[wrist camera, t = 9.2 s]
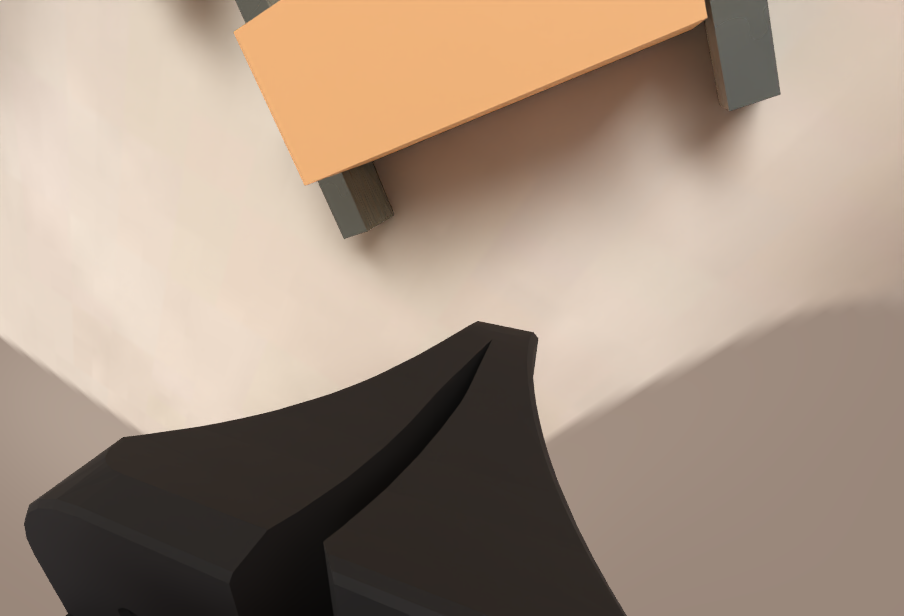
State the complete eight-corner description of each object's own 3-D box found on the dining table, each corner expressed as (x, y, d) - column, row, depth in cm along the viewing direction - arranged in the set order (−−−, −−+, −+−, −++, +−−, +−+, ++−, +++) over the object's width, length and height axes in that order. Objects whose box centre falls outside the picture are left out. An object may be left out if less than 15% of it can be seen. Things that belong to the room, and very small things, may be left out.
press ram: (692, 28, 12) (707, 17, 9) (374, 160, 17) (304, 185, 13) (657, -161, 11) (658, -258, 8) (324, 37, 15) (233, 32, 12)
